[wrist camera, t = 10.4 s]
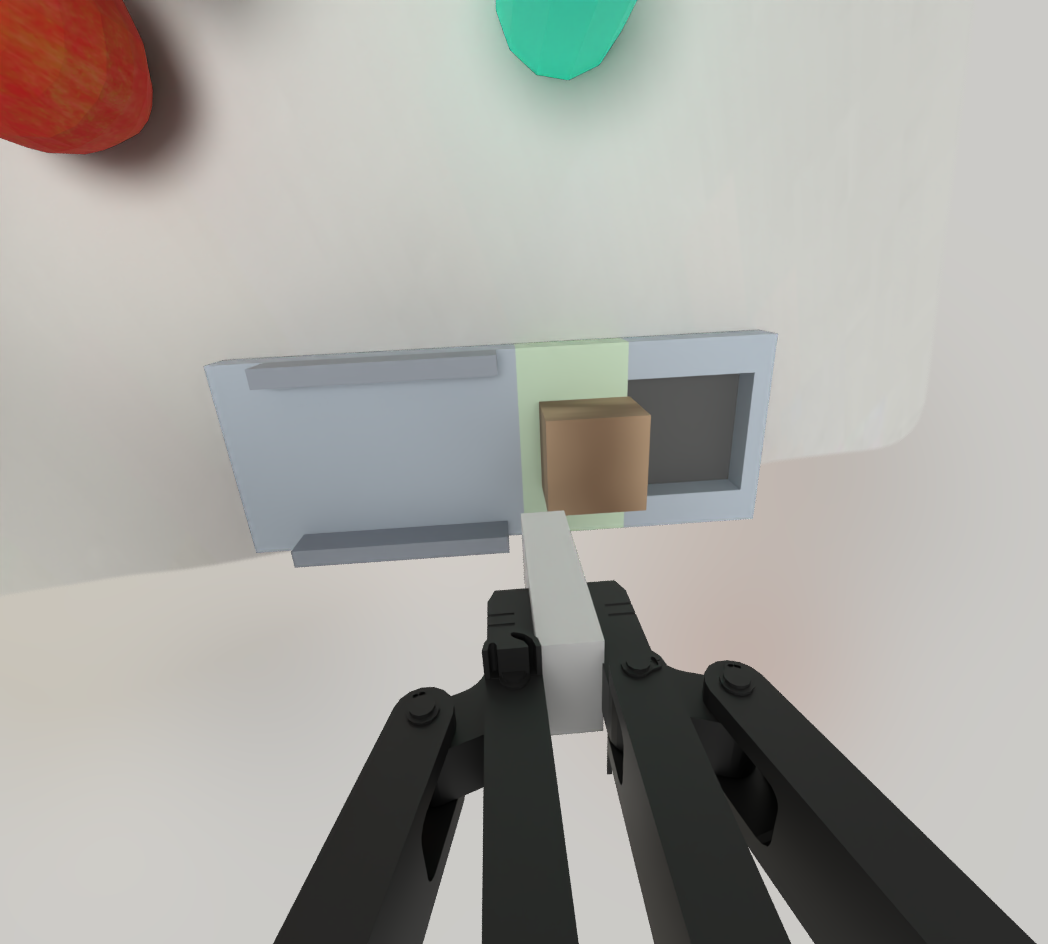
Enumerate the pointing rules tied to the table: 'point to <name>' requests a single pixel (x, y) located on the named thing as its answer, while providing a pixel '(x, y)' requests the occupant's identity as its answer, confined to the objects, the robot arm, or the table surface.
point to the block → (594, 455)
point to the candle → (562, 32)
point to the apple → (71, 75)
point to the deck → (478, 439)
